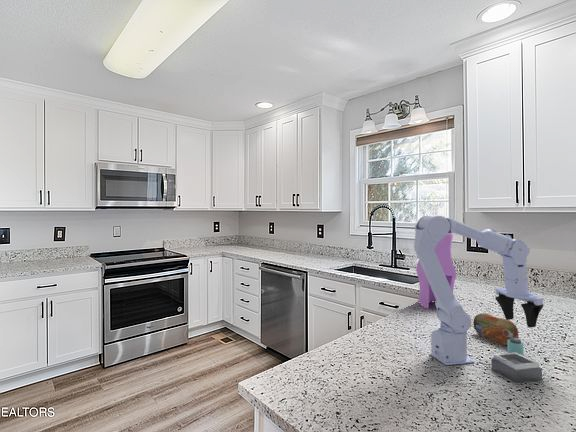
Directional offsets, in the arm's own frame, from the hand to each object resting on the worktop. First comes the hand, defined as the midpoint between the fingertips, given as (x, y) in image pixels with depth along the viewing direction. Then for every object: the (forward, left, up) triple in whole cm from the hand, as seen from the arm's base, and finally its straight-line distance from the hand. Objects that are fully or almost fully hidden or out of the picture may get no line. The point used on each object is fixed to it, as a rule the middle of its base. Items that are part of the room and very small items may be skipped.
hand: (520, 322), depth 99 cm
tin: (+4, +14, -11) cm, 18 cm away
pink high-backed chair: (+11, +57, -11) cm, 60 cm away
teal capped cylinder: (-2, 0, -11) cm, 11 cm away
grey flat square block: (-10, -8, -11) cm, 17 cm away
